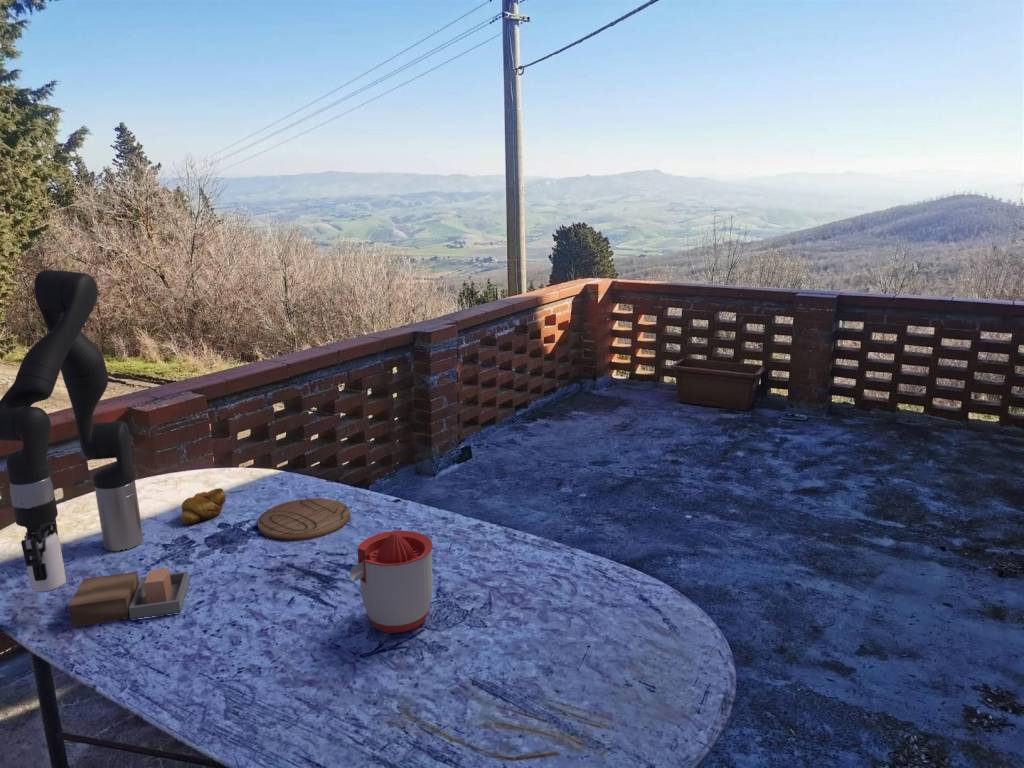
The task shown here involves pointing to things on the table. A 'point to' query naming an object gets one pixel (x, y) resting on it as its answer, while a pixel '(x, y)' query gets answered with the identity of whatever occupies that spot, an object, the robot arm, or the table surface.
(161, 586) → the small tan cube
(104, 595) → the brown wooden block
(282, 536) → the trivet
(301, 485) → the table surface
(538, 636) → the table surface
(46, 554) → the can
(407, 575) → the citrus juicer
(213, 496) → the bread roll
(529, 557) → the table surface
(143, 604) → the box
